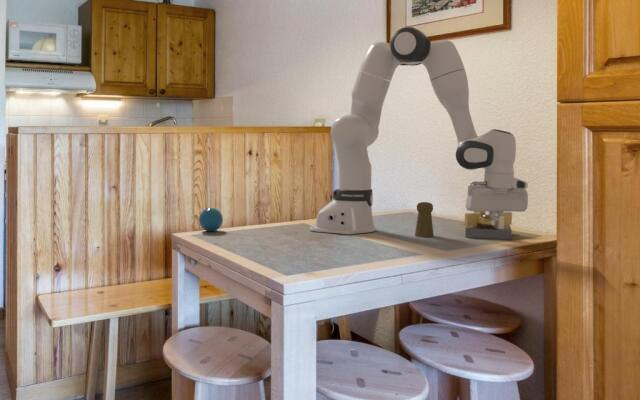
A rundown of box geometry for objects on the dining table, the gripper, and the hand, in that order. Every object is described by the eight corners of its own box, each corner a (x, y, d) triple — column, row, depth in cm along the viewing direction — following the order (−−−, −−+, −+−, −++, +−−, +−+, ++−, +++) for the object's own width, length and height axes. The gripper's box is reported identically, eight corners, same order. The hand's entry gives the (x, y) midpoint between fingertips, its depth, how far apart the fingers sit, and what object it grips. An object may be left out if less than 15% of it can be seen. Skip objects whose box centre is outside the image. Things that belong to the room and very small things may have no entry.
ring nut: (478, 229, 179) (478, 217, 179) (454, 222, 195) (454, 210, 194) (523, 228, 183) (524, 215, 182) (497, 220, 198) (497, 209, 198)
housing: (465, 237, 185) (465, 228, 184) (466, 231, 197) (466, 222, 197) (511, 239, 181) (511, 230, 181) (509, 233, 194) (509, 223, 193)
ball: (216, 234, 189) (215, 209, 189) (194, 232, 192) (194, 208, 191) (227, 230, 197) (227, 207, 196) (206, 228, 199) (206, 206, 199)
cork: (433, 237, 184) (434, 203, 183) (414, 237, 185) (415, 203, 184) (433, 234, 190) (434, 201, 189) (415, 233, 191) (415, 201, 190)
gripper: (473, 182, 175) (470, 227, 177) (532, 183, 180) (528, 226, 182) (463, 180, 181) (460, 223, 183) (520, 181, 186) (516, 223, 188)
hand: (494, 225), depth 183 cm, fingers closed, pressing on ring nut
